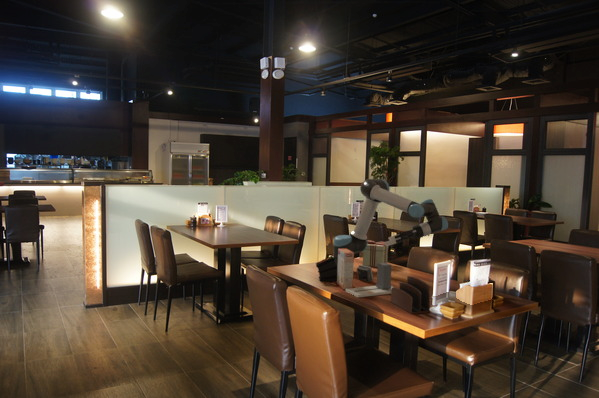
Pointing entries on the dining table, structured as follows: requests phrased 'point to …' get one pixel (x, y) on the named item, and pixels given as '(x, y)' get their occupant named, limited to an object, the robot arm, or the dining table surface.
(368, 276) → the electrical switch
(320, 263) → the black piece
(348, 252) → the cracker box
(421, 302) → the letter holder
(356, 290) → the switch board
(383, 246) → the gift box
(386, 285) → the slider knob
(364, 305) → the dining table surface
